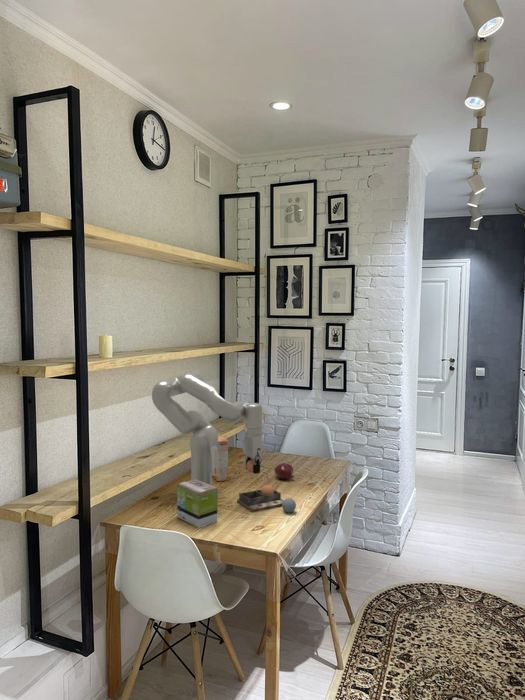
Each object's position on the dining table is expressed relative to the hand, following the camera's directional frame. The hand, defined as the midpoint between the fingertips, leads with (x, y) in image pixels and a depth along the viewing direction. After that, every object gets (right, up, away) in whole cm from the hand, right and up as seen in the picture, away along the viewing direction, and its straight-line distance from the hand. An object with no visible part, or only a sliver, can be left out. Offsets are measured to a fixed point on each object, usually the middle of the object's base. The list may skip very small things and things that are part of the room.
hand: (252, 470), depth 235 cm
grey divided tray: (+4, -15, +1) cm, 16 cm away
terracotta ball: (0, +2, 0) cm, 2 cm away
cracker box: (-18, -13, +39) cm, 45 cm away
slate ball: (+16, -13, -8) cm, 22 cm away
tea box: (-23, -16, -18) cm, 33 cm away
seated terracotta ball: (+7, -11, +5) cm, 14 cm away
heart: (+15, -13, +39) cm, 44 cm away
